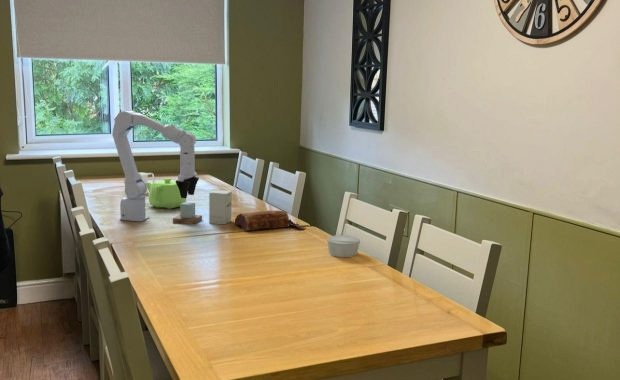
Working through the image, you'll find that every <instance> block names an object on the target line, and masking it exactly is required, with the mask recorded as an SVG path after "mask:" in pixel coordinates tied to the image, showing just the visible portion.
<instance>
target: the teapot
mask: <svg viewBox="0 0 620 380" xmlns="http://www.w3.org/2000/svg"><path fill="white" fill-rule="evenodd" d="M146 185H147V188H148V194H149V195H148V196H149V197H148V202H149V204H150V206H152V207H155V208H166V210H167V209H169V210H171V209H174V208H178V207H180V204H181V203H184V202H187V198H181V195H180V191H179V188H178V186H177V184H176V180H175V181H173V180H172V178H169V177H166V178H164V179H163V180H159V181H156V182H155V181H154V183H153V182H148V183H146Z"/></svg>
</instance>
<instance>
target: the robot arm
mask: <svg viewBox="0 0 620 380" xmlns="http://www.w3.org/2000/svg"><path fill="white" fill-rule="evenodd" d="M113 120H114V123H113V128H112V138H113V142H114V145H115V148H116V150H117V154H118V158H119V162H120V164H121V168H122V170H123V174H124V181H123V183H124V194H125V196H126V197H122V198H121V200H120V206H119V210H120V211H119V213H120V218H119V221H128V222H129V221H130V222H143V221H145V220H148V219H150V216H147V215H146V194H144V193H145V192H146V190H147V186H146V184H145V182H144V181H143V180H142V177H141V176H140V174H139V173H138V172H139V171H138V167H137V165H136V162H135V158H134V155H133V151H132V149H131V144H130V142H129V138H128V135H129V133H130V132H131V130H132V129H133V128H134V127H135V126H144V127H147V128H148V129H152V130H154V131H156V132H158V133H160V134H161V137H163V138H164V139H166V140H169V141H171V142H173V143H175V144H177V145H179V148H180V151H179V158H180V159H179V162H180V163H179V165H180V166H179V172H180V173H179V175H178V176H177V179H176V180H175V181H176V184H177V186H178V188H179V191H180V195H181V198H186V199H187V198H188V196H194V195H195V191H196V187H197V184H198V181H199V179H200V177H198V173H197V171H195V169H196V168H195V167H196V166H195V165H196V164H195V162H196V161H195V160H196V159H195V156H196V155H195V154H196V152H195V145H196V143H197V137H196V135H194V134H193V133H192V132H190V131H189V132H186V130H185V129H180V128H178V127H177V126H176V125H175V124H173V123H171V124H165V125H164V124H162V123H160V122H158V121H156V120H155V119H152V118H151V117H148V116H147V115H144V114H142V113H140V112H136V111H134V110H128V111H127V110H126V111H125V110H123V111H120V112H119V113H117V115H116V116H115V118H114V119H113Z"/></svg>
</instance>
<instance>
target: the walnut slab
mask: <svg viewBox="0 0 620 380" xmlns="http://www.w3.org/2000/svg"><path fill="white" fill-rule="evenodd" d="M202 220H203V214H201V215H200V214H195V216H194V217H192V218H183V217H180V214H178V215H177V216H175V217H173V218H172V223H173V224H182V225H184V224H185V225H197V224H198V223H199V222H201V221H202Z"/></svg>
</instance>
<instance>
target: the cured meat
mask: <svg viewBox="0 0 620 380" xmlns="http://www.w3.org/2000/svg"><path fill="white" fill-rule="evenodd" d="M295 223H296V222H293V221H292V220H291V219H290V217H289V215H288V212H286V211H285V210H263V211H252V212H245V213H239V214H237V215H236V216H235V220H234V225H235V226H236V227H238V226H240V227H241V230H243V231H244V232H249V231H250V232H251V231H258V230H267V229H268V230H269V229H278V228H288V227H289V226H290V225H291V226H293V227H296V228H297V229H301V230H303V229H305V225H299V224H295Z"/></svg>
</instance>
